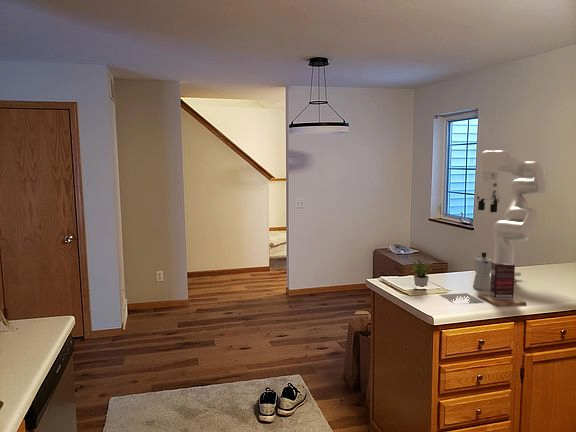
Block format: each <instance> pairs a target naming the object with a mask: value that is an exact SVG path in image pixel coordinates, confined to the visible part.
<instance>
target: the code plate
mask: <svg viewBox="0 0 576 432" xmlns="http://www.w3.org/2000/svg"><path fill="white" fill-rule="evenodd" d="M440 295H441V297H442V298H444V299H445V298H446V300H447V299H448V300H447V301H449V302H451V303H452V301H453V299H454V301H455V300H456V298H458V299H459V298H461V299H462V298H463V300H464V299H465V298H466V297H467V296H468V297H469V298H470V299H469V298H467V299H469V301H470V302H469V301H468V302H469V304H483V303H485V301H484V300H483V301H482V299H480V298H478V297H475V296H473V295H471V294H469V293H467V292H466V293H464V292H463V293H444V294H440ZM457 296H458V297H457ZM460 296H461V297H460ZM464 296H465V298H464ZM461 299H460V300H461ZM451 300H452V301H451Z"/></svg>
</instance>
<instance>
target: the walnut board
mask: <svg viewBox="0 0 576 432" xmlns="http://www.w3.org/2000/svg"><path fill="white" fill-rule="evenodd" d="M477 298H478V299H480V300H483V301H484V302H487V303H488V304H491V305H493V306H495V307H497V308H499V307H512V306H514V307H515V306H526V305H527V302H526V301H524V300H522V299H519V298H517V297H516V296H513V299H493V298H492V297H490V293H483V294H482V293H481V294H480V293H479V294H477Z"/></svg>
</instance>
